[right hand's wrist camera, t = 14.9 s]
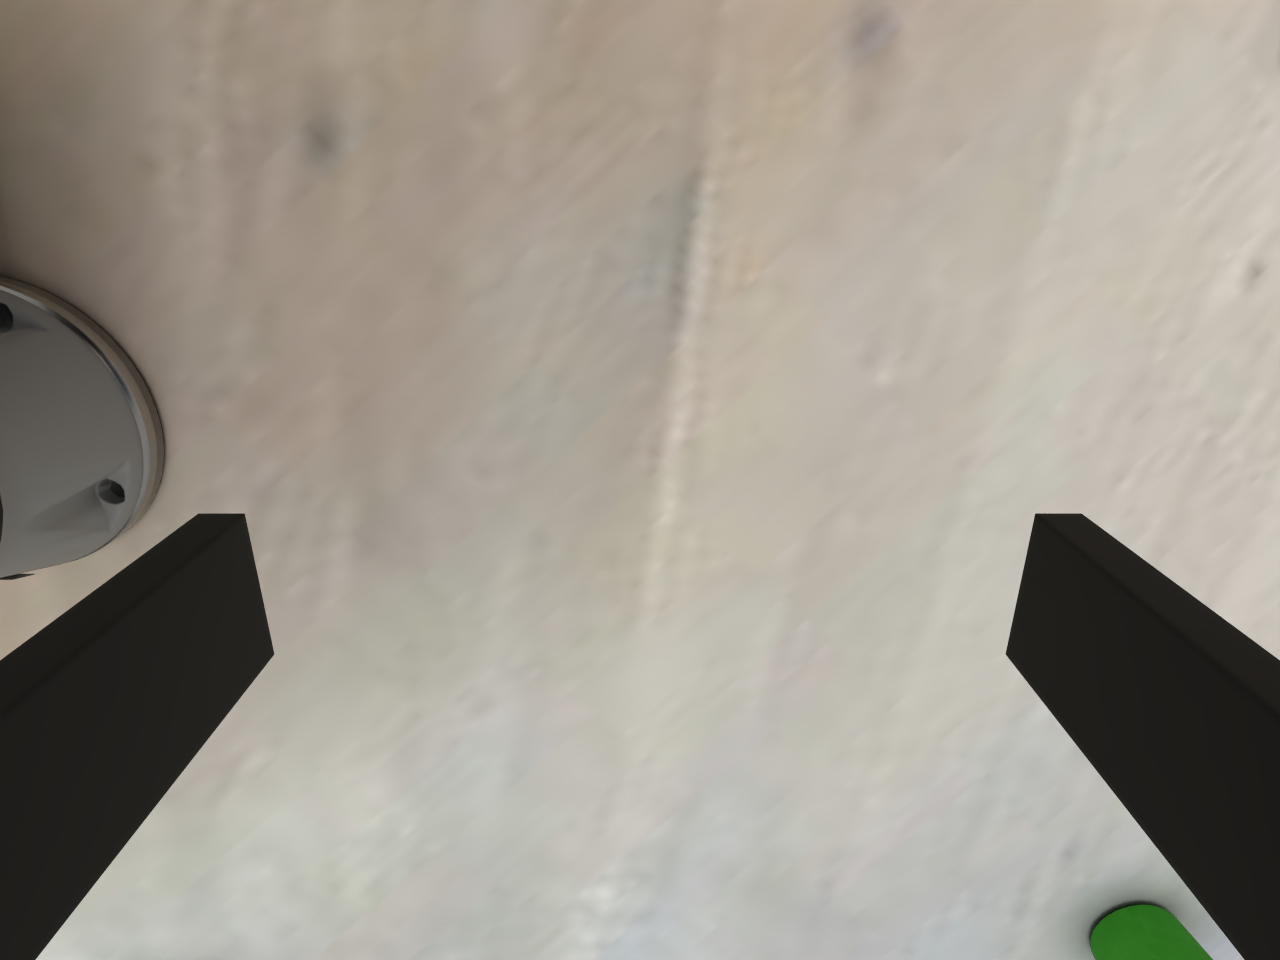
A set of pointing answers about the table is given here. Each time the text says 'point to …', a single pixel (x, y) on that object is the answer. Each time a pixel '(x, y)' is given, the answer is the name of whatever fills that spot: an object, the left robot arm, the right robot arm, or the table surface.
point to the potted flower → (1144, 936)
